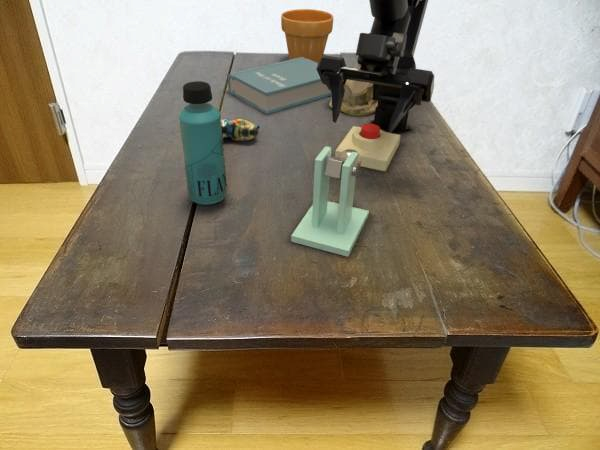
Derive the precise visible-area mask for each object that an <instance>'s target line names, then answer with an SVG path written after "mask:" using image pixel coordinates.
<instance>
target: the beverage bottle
mask: <svg viewBox="0 0 600 450" xmlns="http://www.w3.org/2000/svg"><path fill="white" fill-rule="evenodd" d="M182 100H183V101H184V102H185V103H187V105H185V106H184V107H183V108H182V109H181V110H180V111H179V113H178V116H177V119H178V121H179V128H180V136H181V145H182V151H183V152H182V153H183V159H184V171H185V178H186V179H185V180H186V185H187V194H188V197H189V199H190V200H191V201H192V202H194V203H196V204H198V205H203V206H205V205H206V206H207V205H213V204H217V203H219V202H222V200H224V199H225V197H226V196H227V188H228V187H227V186H228V184H227V179H228V178H227V172H226V164H225V163H226V159H225V152H224V151H225V149H224V147H225V145H224V141H225V140H224V138H222V137H223V136H222V135H223V134H222V133H223V132H222V128H223V127H221V119H222V118H221V117H222V114H221V111H220V110H219V109H218V108H217V107H216V106H214V104H211V103H209V102H211V101H212V100H213V93H212V89H211V84H210V83H208V82H207V81H201V80H199V81H189V82H187V83H184V85H183V86H182Z"/></svg>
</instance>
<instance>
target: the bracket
mask: <svg viewBox="0 0 600 450" xmlns="http://www.w3.org/2000/svg"><path fill="white" fill-rule="evenodd" d="M330 157H332V146H328V145H327V146H326V145H325V146H324V147H323V148H322V149H321V151H320V152H319V154H318V155H317V156H316V158H315V159H314V170H313V171H314V172H313V192H312V204H311V206H310V207H309V209H308V210H307V211H306V213H305V215H304V216H303V217H302V219H301V221H300V222H299V223H298V225H297V227H296V228H295V230H294V231H293V232H292V234H291V235H290V242H292V243H295V244H298V245H302V246H306V247H309V248H314V249H317V250H321V251H325V252H328V253H332V254H336V255H340V256H343V257H346V258H348V257H349V256H350V254H351V252H352V250H353V248H354V247H355V245H356V242H357V240H358V238H359V236H360V234H361V232H362V230H363V228H364V227H365V224H366V222H367V220H368V218H369V216H370V215H369V213H370V211H369V210H368V209H363V208H358V207H355V206H353V204H354V197H355V187H356V178H357V174H358V170H359V168H358V167H357V160H358V153H357V152H351V153H350V155H349V156H348V158H347V159H346V161H345V162H344V164H343V165H342V176H341V178H340V190H339V198H338V199H339V201H338V202H333V201H329V189H330V187H329V186H330V177H331V176H326V175H325V170H326V164H327V159H328V158H330Z"/></svg>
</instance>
